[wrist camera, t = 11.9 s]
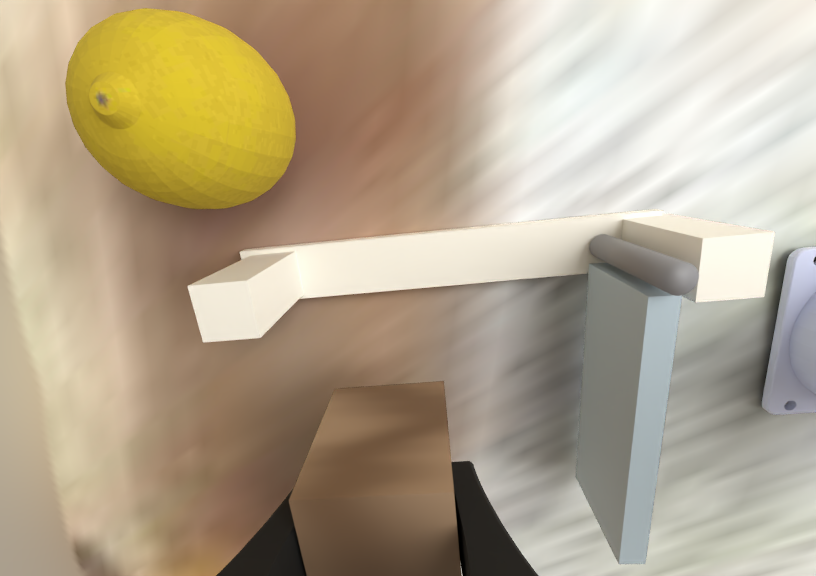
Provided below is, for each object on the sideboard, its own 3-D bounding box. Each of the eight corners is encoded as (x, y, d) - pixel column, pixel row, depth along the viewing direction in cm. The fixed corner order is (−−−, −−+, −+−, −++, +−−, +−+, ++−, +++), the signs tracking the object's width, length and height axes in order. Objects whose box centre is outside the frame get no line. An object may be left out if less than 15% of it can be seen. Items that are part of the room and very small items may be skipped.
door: (589, 234, 16) (664, 263, 11) (637, 231, 16) (734, 259, 11) (574, 475, 19) (626, 579, 14) (613, 474, 19) (679, 579, 14)
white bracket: (664, 208, 16) (776, 225, 11) (660, 263, 17) (763, 303, 12) (245, 249, 18) (170, 281, 12) (256, 298, 18) (190, 348, 13)
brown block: (443, 380, 14) (453, 492, 9) (455, 512, 16) (468, 663, 11) (334, 388, 14) (288, 501, 9) (357, 516, 16) (328, 666, 11)
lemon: (164, 95, 16) (-80, 23, 8) (281, 33, 15) (133, -110, 7) (231, 220, 17) (77, 258, 10) (342, 170, 16) (271, 168, 9)
